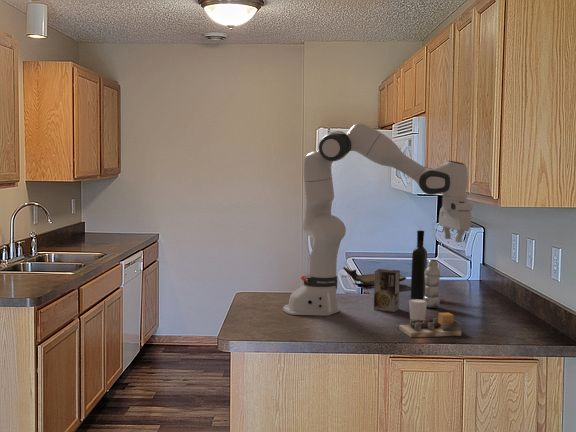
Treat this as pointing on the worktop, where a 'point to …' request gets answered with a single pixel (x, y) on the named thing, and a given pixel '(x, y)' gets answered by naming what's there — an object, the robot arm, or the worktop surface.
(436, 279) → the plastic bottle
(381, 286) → the coffee box
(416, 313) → the shot glass
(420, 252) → the wine bottle
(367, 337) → the worktop surface
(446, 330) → the board
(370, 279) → the oil lamp
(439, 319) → the plug
